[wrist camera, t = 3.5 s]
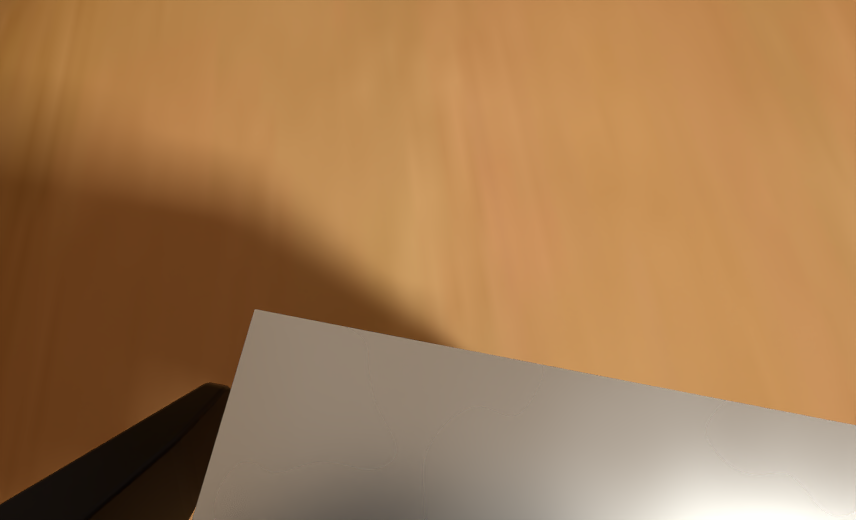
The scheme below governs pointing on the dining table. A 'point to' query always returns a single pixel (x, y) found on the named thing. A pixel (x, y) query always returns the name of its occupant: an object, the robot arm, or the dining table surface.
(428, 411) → the block
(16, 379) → the dining table surface
